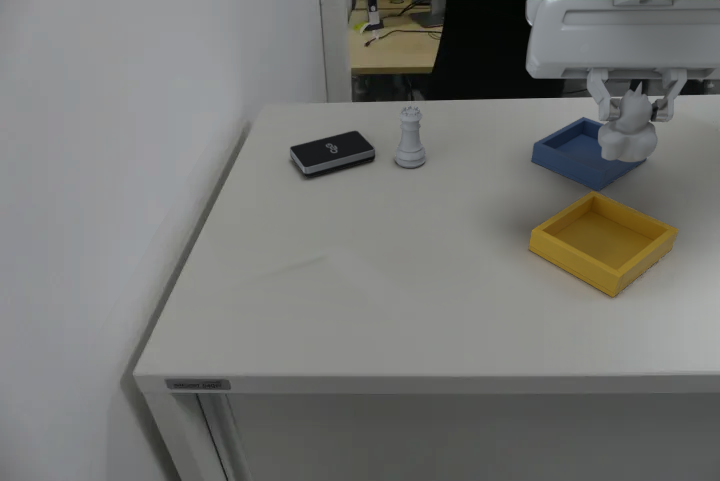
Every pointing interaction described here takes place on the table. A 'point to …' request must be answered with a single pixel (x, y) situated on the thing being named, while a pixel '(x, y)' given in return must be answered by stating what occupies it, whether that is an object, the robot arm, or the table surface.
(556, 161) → the blue tray
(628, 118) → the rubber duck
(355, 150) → the external hard drive
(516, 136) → the table surface
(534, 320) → the table surface
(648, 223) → the yellow tray
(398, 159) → the rook chess piece
